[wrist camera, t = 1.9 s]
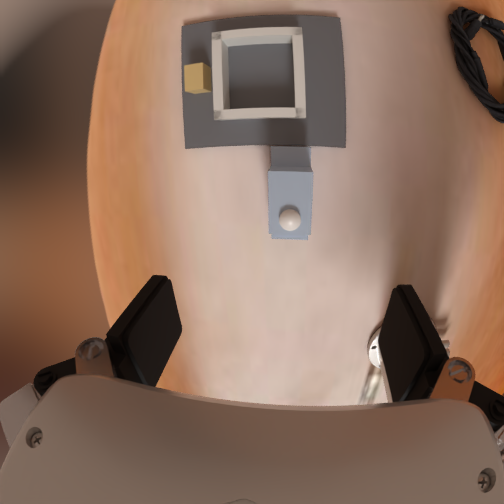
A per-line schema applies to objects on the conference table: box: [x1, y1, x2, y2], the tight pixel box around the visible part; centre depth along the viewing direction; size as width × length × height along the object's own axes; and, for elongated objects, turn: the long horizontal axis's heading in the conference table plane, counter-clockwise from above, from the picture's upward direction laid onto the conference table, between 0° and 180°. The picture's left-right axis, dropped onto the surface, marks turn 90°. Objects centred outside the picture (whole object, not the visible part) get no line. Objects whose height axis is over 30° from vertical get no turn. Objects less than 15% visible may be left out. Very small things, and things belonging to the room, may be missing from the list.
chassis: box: [182, 15, 346, 149], centre depth 23 cm, size 18×16×4 cm
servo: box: [268, 146, 313, 240], centre depth 27 cm, size 4×10×7 cm, turn 2°
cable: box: [449, 7, 504, 123], centre depth 16 cm, size 17×14×4 cm
